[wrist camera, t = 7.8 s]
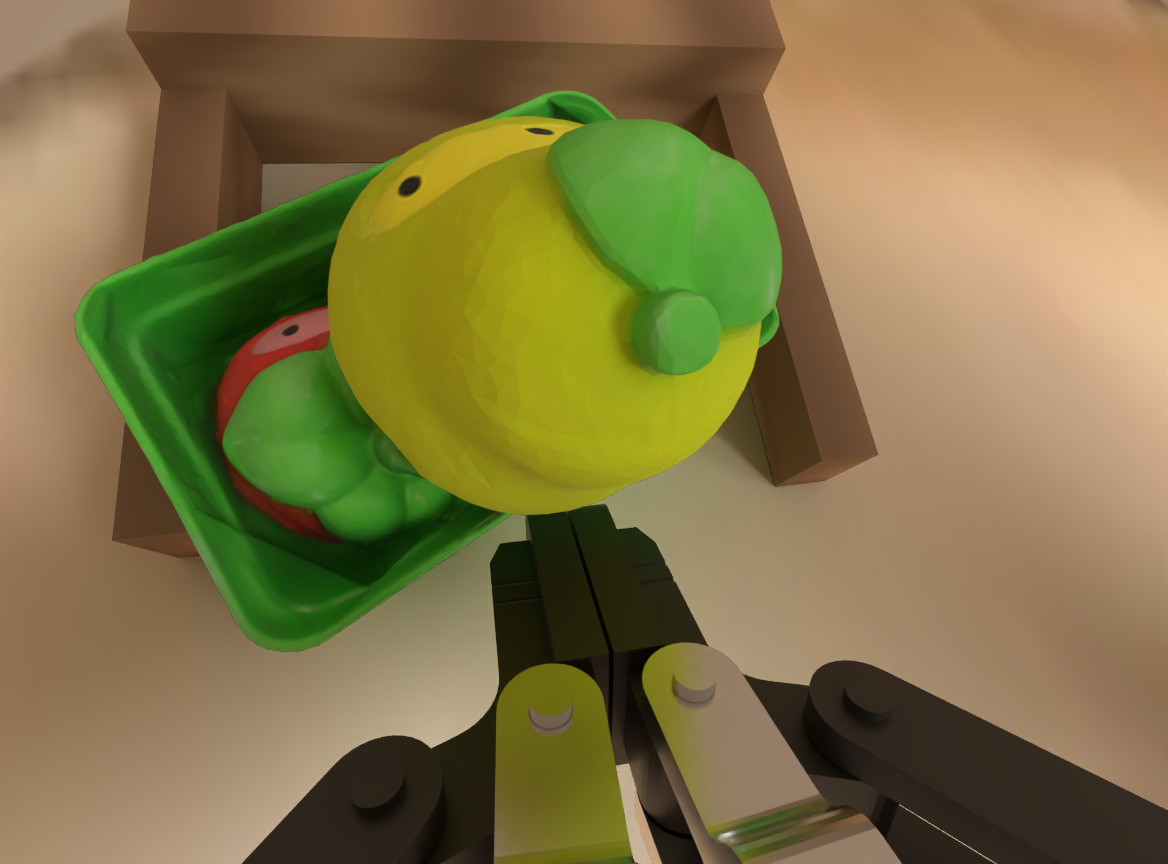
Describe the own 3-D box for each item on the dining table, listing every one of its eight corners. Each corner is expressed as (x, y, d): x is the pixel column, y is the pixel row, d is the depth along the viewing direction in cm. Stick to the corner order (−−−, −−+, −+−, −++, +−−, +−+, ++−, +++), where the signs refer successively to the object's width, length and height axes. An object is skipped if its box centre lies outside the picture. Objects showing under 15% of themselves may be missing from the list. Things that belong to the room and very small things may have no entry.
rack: (719, 114, 21) (768, -3, 17) (824, 480, 16) (920, 433, 13) (210, 111, 18) (134, -29, 14) (179, 557, 13) (57, 526, 10)
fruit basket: (560, 221, 18) (640, -358, 8) (743, 443, 16) (1174, 86, 6) (196, 407, 15) (-564, -182, 4) (379, 715, 13) (-149, 1025, 2)
